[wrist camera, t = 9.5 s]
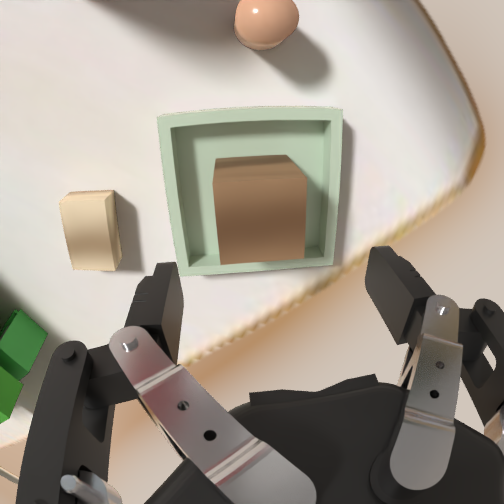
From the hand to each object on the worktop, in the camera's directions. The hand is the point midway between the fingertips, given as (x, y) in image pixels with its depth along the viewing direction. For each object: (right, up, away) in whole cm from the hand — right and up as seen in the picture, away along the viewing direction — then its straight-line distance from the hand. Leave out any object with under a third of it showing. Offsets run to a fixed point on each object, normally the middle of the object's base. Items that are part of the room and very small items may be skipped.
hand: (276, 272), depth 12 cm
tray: (-1, +6, +10) cm, 12 cm away
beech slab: (-14, +3, +11) cm, 18 cm away
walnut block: (-1, +5, +10) cm, 11 cm away
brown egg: (0, +16, +5) cm, 17 cm away
